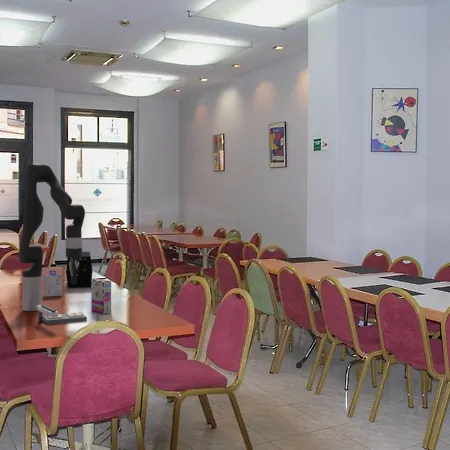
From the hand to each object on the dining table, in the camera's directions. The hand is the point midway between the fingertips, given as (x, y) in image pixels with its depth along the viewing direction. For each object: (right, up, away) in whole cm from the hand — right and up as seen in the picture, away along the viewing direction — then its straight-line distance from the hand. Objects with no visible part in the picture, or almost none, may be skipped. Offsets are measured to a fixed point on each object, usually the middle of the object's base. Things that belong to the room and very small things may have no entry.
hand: (74, 283), depth 280 cm
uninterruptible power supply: (-25, -12, +110) cm, 113 cm away
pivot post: (-14, -17, -6) cm, 23 cm away
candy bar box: (+9, -16, +17) cm, 26 cm away
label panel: (-4, -17, -1) cm, 18 cm away
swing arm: (-9, -12, -14) cm, 20 cm away
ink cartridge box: (-29, -14, +67) cm, 74 cm away
